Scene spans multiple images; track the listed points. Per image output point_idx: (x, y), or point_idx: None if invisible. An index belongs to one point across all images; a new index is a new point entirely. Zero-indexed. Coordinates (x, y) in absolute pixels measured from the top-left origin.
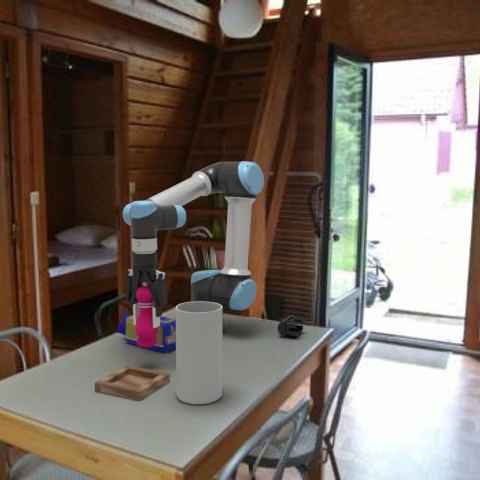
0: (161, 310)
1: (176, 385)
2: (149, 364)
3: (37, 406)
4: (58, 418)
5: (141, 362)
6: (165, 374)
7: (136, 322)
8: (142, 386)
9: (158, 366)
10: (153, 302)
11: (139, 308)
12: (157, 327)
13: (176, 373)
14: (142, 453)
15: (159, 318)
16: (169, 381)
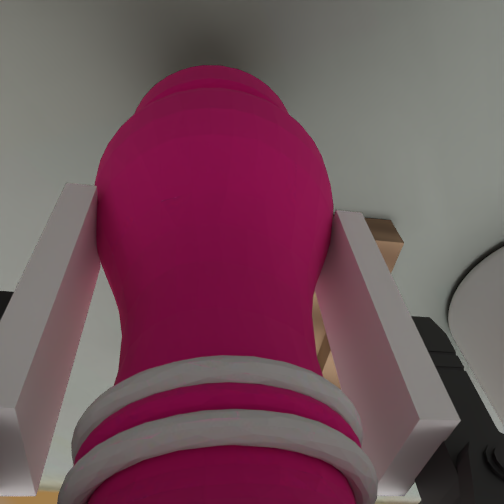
0: (468, 383)
1: (465, 357)
2: (193, 27)
3: (64, 460)
4: None
5: (121, 6)
6: (387, 258)
7: (95, 272)
8: (330, 366)
9: (265, 45)
10: (373, 502)
11: (48, 338)
12: (332, 216)
13: (490, 402)
14: (416, 500)
15: (383, 270)
16: (390, 221)
